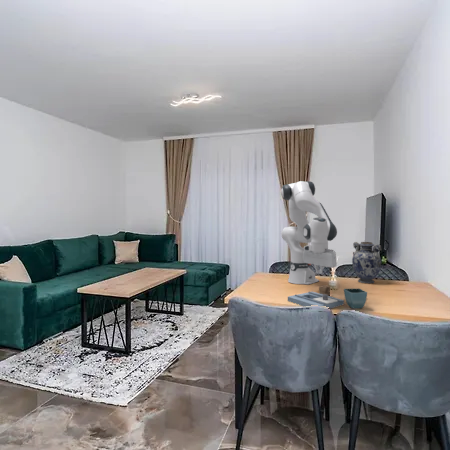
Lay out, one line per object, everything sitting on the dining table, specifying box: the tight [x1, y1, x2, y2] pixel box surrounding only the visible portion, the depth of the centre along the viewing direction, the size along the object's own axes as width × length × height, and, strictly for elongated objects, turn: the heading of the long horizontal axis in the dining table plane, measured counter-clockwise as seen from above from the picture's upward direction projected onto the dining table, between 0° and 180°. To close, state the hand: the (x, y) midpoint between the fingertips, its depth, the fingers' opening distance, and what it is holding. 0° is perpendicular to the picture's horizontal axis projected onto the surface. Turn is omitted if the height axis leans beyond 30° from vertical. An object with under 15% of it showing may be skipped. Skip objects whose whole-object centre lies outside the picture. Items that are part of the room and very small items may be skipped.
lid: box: [313, 294, 338, 304], centre depth 173 cm, size 9×9×3 cm
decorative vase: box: [351, 241, 382, 285], centre depth 229 cm, size 21×19×28 cm
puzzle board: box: [287, 291, 345, 309], centre depth 179 cm, size 20×22×3 cm
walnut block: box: [318, 284, 331, 297], centre depth 192 cm, size 4×4×6 cm
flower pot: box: [343, 288, 368, 309], centre depth 171 cm, size 9×9×9 cm
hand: (319, 273), depth 176 cm, fingers closed
